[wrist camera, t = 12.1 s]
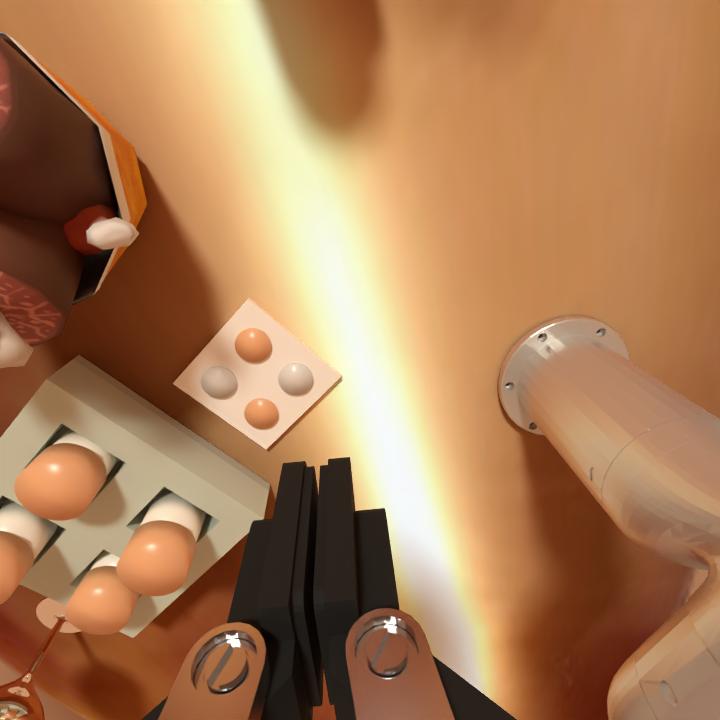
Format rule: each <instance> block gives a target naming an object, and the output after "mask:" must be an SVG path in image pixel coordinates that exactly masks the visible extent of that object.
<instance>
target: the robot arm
mask: <svg viewBox="0 0 720 720" xmlns="http://www.w3.org/2000/svg"><path fill="white" fill-rule="evenodd" d="M539 335H540V336H539ZM498 393H499V397H500V402H501V404H502V406H503V408H504V410H505V411H506V413H507V414H508V416H509V417H510V418H511V419H512V420H513V421H514V422H515V423H516V424H517V425H518V426H519V427H521V428H523V429H524V430H526V431H528V432H531V433H534V434H537V435H544V436H546V438H547V439H548V440H549V441H550V443H551V444H552V445H553V446H554V448H555V449H556V450H557V451H558V453H559V454H560V455H561V456H562V458H563V459H564V460H565V461H566V463H567V464H568V465H569V466H570V468H571V469H572V470H573V471H574V473H575V474H576V475H577V476H578V478H579V479H580V480H581V481H582V483H583V484H584V485H585V486H586V488H587V489H588V490H589V491H590V493H591V494H592V495H593V496H594V498H595V499H596V500H597V501H598V503H599V504H600V505H601V506H602V508H603V509H604V510H605V511H606V513H607V514H608V515H609V517H610V518H611V519H612V520H613V522H614V523H615V524H616V525H617V527H618V528H619V529H620V530H621V531H622V532H623V533H624V534H625V535H626V536H627V537H628V538H629V539H630V540H631V541H632V542H633V543H635V544H636V545H637V546H639V547H640V548H642V549H643V550H645V551H647V552H648V553H650V554H652V555H654V556H657V557H659V558H662V559H664V560H667V561H670V562H673V563H676V564H680V565H684V566H688V567H692V568H697V569H703V570H708V571H709V572H708V576H707V578H706V579H705V581H704V583H703V584H702V585H701V586H700V587H699V588H698V589H697V590H696V591H695V592H694V593H693V594H692V595H691V596H690V597H689V599H688V601H687V602H686V603H685V604H684V605H683V606H682V607H681V608H680V609H679V610H678V611H676V612H675V613H674V614H673V615H672V616H671V617H670V618H669V619H668V620H667V621H666V622H665V623H664V624H663V625H662V626H661V627H660V628H658V629H657V630H656V631H655V632H654V633H653V634H652V635H651V636H650V637H649V638H648V639H647V640H646V641H645V642H644V643H643V644H642V645H640V647H639V648H638V649H637V650H636V651H635V652H634V653H633V654H632V655H631V656H630V657H629V658H628V659H627V660H626V661H625V662H624V663H623V665H622V666H621V667H620V668H619V670H618V671H617V673H616V674H615V676H614V678H613V680H612V682H611V685H610V688H609V692H608V698H607V708H608V717H609V720H720V419H718V418H717V417H715V416H714V415H712V414H711V413H709V412H708V411H706V410H705V409H703V408H701V407H700V406H698V405H697V404H695V403H694V402H692V401H691V400H689V399H688V398H686V397H684V396H683V395H681V394H680V393H678V392H677V391H675V390H674V389H672V388H671V387H669V386H667V385H666V384H664V383H663V382H661V381H660V380H658V379H657V378H655V377H654V376H652V375H651V374H649V373H647V372H646V371H644V370H643V369H641V368H640V367H638V366H637V365H635V364H634V363H632V362H630V360H629V354H628V350H627V347H626V345H625V343H624V341H623V340H622V338H621V337H620V336H619V335H618V334H617V333H616V332H615V331H614V330H613V329H612V328H610V327H609V326H607V325H605V324H604V323H602V322H599V321H597V320H595V319H592V318H587V317H582V316H568V317H562V318H556V319H554V320H551V321H548V322H545V323H543V324H541V325H539V326H537V327H536V328H534V329H532V330H531V331H529V332H528V333H527V334H526V335H524V336H523V337H522V338H521V339H520V340H519V341H518V342H517V343H516V344H515V345H514V346H513V347H512V349H511V350H510V352H509V353H508V355H507V357H506V358H505V360H504V363H503V365H502V367H501V370H500V375H499V379H498ZM323 669H324V673H325V679H326V685H327V691H328V697H329V703H330V705H334V708H335V714H336V720H517V719H515V718H514V717H513V716H511V715H510V714H509V713H507V712H506V711H505V710H503V709H502V708H501V707H500V706H498V705H497V704H496V703H494V702H493V701H492V700H490V699H489V698H488V697H486V696H485V695H484V694H483V693H481V692H480V691H479V690H477V689H476V688H475V687H473V686H472V685H471V684H469V683H468V682H467V681H466V680H464V679H463V678H462V677H460V676H459V675H458V674H456V673H455V672H454V671H452V670H451V669H450V668H449V667H447V666H446V665H445V664H443V663H442V662H441V661H439V660H438V659H437V658H435V657H434V656H433V655H432V653H431V650H430V647H429V645H428V642H427V639H426V636H425V634H424V632H423V630H422V628H421V626H420V625H419V624H418V623H417V622H416V621H415V620H414V619H413V618H412V617H411V616H410V615H408V614H406V613H404V612H402V611H401V610H399V603H398V596H397V589H396V582H395V575H394V568H393V561H392V554H391V547H390V540H389V533H388V526H387V519H386V512H385V508H383V509H372V510H361V511H355V502H354V492H353V482H352V472H351V463H350V457H346V458H335V459H329V460H328V465H323V466H320V479H319V495H318V488H317V481H316V474H315V468H314V466H312V467H307V465H306V462H305V461H302V462H291V463H283V466H282V470H281V476H280V481H279V487H278V492H277V498H276V503H275V508H274V514H273V519H264V520H254V521H253V522H252V524H251V527H250V531H249V535H248V539H247V543H246V547H245V551H244V555H243V559H242V564H241V568H240V572H239V576H238V580H237V584H236V588H235V592H234V596H233V601H232V605H231V609H230V613H229V617H228V621H227V624H224V625H222V626H219V627H216V628H214V629H213V630H211V631H210V632H208V633H207V634H205V635H204V636H203V637H202V638H201V639H200V640H199V641H198V642H197V643H196V644H195V645H194V646H193V647H192V649H191V651H190V652H189V654H188V656H187V657H186V659H185V661H184V663H183V665H182V668H181V670H180V672H179V674H178V677H177V679H176V681H175V683H174V685H173V688H172V690H171V692H170V694H169V696H168V697H167V698H166V699H165V700H163V701H162V702H161V703H160V704H159V705H158V706H157V707H155V708H154V709H153V710H152V711H151V712H150V713H149V714H147V715H146V716H145V717H144V718H143V719H142V720H312V716H313V707H315V706H322V701H323Z"/></svg>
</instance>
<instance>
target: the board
mask: <svg viewBox="0 0 720 720" xmlns="http://www.w3.org/2000/svg"><path fill="white" fill-rule="evenodd" d="M69 428H70V429H71V430H73V431H75V432H76V433H78V434H79V435H81V436H83V437H84V438H86V439H88V440H89V441H91V442H92V443H94V444H96V445H97V446H99V447H101V448H102V449H104V450H105V451H107V452H109V453H110V454H112V455H114V456H115V457H117V458H119V460H118V462H117V463H116V464H115V466H114V467H113V468H112V470H111V471H110V473H109V474H108V475H107V477H106V481H105V483H104V485H103V486H102V488H101V489H100V491H99V492H98V493H97V495H96V496H95V498H94V499H93V500H92V502H91V503H90V505H89V506H88V507H87V509H86V510H85V511H84V512H83V513H82V514H81V515H80V516H78V517H76V518H73V519H70V520H64V521H56V520H50V521H51V522H53V523H55V524H57V529H56V531H55V533H54V534H53V536H52V537H51V538H50V540H49V541H48V542H47V544H46V545H45V546H44V548H43V549H42V550H41V552H40V553H39V554H38V555H37V557H36V558H35V559H34V563H33V566H32V567H31V569H30V570H29V571H28V573H27V574H26V575H25V577H24V578H23V579H22V581H21V582H20V583H19V584H21V585H23V586H25V587H27V588H29V589H31V590H33V591H35V592H37V593H40V594H42V595H44V596H46V597H48V598H50V599H52V600H54V601H56V602H59V603H61V604H63V605H65V606H66V605H67V603H68V602H69V600H70V599H71V597H72V595H73V594H74V592H75V590H76V589H77V587H78V585H79V584H80V582H81V580H82V579H83V577H84V575H85V574H86V573H87V572H88V571H90V569H91V568H92V566H93V564H94V563H95V561H96V559H97V558H98V556H99V554H100V553H101V551H102V550H103V549H104V550H106V551H107V552H109V553H111V554H113V555H115V556H117V557H119V558H120V557H121V555H122V553H123V552H124V550H125V548H126V546H127V544H128V542H129V540H130V538H131V537H132V535H133V533H134V531H135V530H136V529H137V528H138V527H139V526H140V525H141V523H142V521H143V519H144V517H145V515H146V513H147V511H148V510H149V508H150V506H151V504H152V502H153V501H154V499H155V498H156V497H157V496H159V495H161V494H163V493H166V492H170V491H172V492H174V493H175V494H177V495H179V496H180V497H182V498H184V499H185V500H187V501H188V502H190V503H192V504H193V505H195V506H197V507H198V508H200V509H201V510H203V511H205V513H206V514H205V520H204V522H203V525H202V528H201V531H200V534H199V536H198V539H197V542H196V551H195V554H194V557H193V560H192V563H191V566H190V569H189V571H188V574H187V577H186V580H185V582H184V584H183V585H182V586H181V588H179V589H178V590H177V591H175V592H173V593H171V594H168V595H164V596H147V595H142V594H140V596H139V598H138V601H137V603H136V605H135V607H134V610H133V612H132V614H131V616H130V619H129V621H128V623H127V625H126V626H125V627H124V628H123V629H121V630H120V632H122V633H124V634H126V635H128V636H130V637H132V638H134V637H135V636H136V635H137V634H138V633H139V632H140V631H141V630H142V629H144V628H145V627H146V626H147V625H148V624H149V623H150V622H151V621H152V620H153V619H154V618H156V617H157V616H158V615H159V614H160V613H161V612H162V611H163V610H164V609H165V608H166V607H168V606H169V605H170V604H171V603H172V602H173V601H174V600H175V599H176V598H177V597H179V596H180V595H181V594H182V593H183V592H184V591H185V590H186V589H187V588H188V587H189V586H191V585H192V584H193V583H194V582H195V581H196V580H197V579H198V578H199V577H200V576H201V575H203V574H204V573H205V572H206V571H207V570H208V569H209V568H210V567H211V566H212V565H213V564H215V563H216V562H217V561H218V560H219V559H220V558H221V557H222V556H223V555H224V554H226V553H227V552H228V551H229V550H230V549H231V548H232V547H233V546H234V545H235V544H236V543H238V542H239V541H240V540H241V539H242V538H243V537H244V536H245V535H246V534H247V533H248V532H249V531H250V527H251V524H252V522H253V521H254V520H263V519H264V514H265V509H266V504H267V499H268V493H269V488H270V484H269V483H268V482H266V481H265V480H263V479H262V478H260V477H259V476H257V475H256V474H254V473H253V472H251V471H250V470H249V469H247V468H246V467H244V466H243V465H241V464H240V463H238V462H237V461H235V460H234V459H232V458H231V457H229V456H228V455H226V454H225V453H223V452H222V451H221V450H219V449H218V448H216V447H215V446H213V445H212V444H210V443H209V442H207V441H206V440H204V439H203V438H201V437H200V436H198V435H197V434H195V433H194V432H192V431H191V430H190V429H188V428H187V427H185V426H184V425H182V424H181V423H179V422H178V421H176V420H175V419H173V418H172V417H170V416H169V415H167V414H166V413H164V412H163V411H162V410H160V409H159V408H157V407H156V406H154V405H153V404H151V403H150V402H148V401H147V400H145V399H144V398H142V397H141V396H139V395H138V394H136V393H135V392H133V391H132V390H131V389H129V388H128V387H126V386H125V385H123V384H122V383H120V382H119V381H117V380H116V379H114V378H113V377H111V376H110V375H108V374H107V373H105V372H104V371H102V370H101V369H100V368H98V367H97V366H95V365H94V364H92V363H91V362H89V361H88V360H86V359H85V358H83V357H82V356H80V355H78V356H77V357H75V358H74V359H73V360H71V361H70V362H69V363H67V364H66V365H65V366H63V367H62V368H61V369H59V370H58V371H57V372H55V373H54V374H53V375H51V376H50V377H49V378H47V379H46V380H45V382H44V383H43V384H42V385H41V387H40V388H39V389H38V390H37V392H36V393H35V394H34V396H33V397H32V398H31V399H30V401H29V402H28V403H27V405H26V406H25V407H24V408H23V410H22V411H21V412H20V414H19V415H18V416H17V417H16V419H15V420H14V421H13V423H12V424H11V425H10V426H9V428H8V429H7V430H6V432H5V433H4V434H3V435H2V437H1V438H0V508H1V507H2V506H3V505H4V504H6V503H7V502H9V501H14V502H16V503H18V504H20V505H21V506H23V505H22V504H21V503H20V502H19V500H18V498H17V496H16V494H15V490H14V484H15V480H16V478H17V477H18V475H19V474H20V473H21V472H22V471H23V470H24V469H25V468H26V467H27V466H28V465H29V464H30V463H31V462H32V461H33V460H34V459H35V458H36V457H37V456H38V455H39V454H40V453H41V452H42V451H43V450H44V449H46V448H47V447H49V446H51V445H53V444H54V443H55V442H56V441H57V440H58V439H59V438H60V437H61V436H62V435H63V434H64V433H65V432H66V431H67V430H68V429H69ZM23 507H24V506H23ZM48 520H49V519H48Z"/></svg>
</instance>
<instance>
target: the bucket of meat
mask: <svg viewBox="0 0 720 720" xmlns="http://www.w3.org/2000/svg"><path fill="white" fill-rule="evenodd" d="M146 206H147V200H146V196H145V191H144V187H143V183H142V179H141V174H140V170H139V166H138V161H137V157H136V153H135V149H134V147H133V146H132V145H131V144H130V143H129V142H128V141H127V140H126V139H125V138H124V137H123V136H122V135H121V134H120V133H119V132H118V131H117V130H116V129H115V128H114V127H113V126H112V125H111V124H110V123H109V122H108V121H107V120H106V119H105V118H104V117H103V116H102V115H101V114H100V113H99V112H98V111H97V110H96V109H95V108H94V107H93V106H92V105H91V104H90V103H89V102H88V101H87V100H86V99H85V98H84V97H82V96H81V95H80V94H79V93H77V92H76V91H75V90H74V89H72V88H71V87H70V86H69V85H67V84H66V83H65V82H64V81H62V80H61V79H60V78H59V77H57V76H56V75H55V74H54V73H52V72H51V71H50V70H49V69H47V68H46V67H45V66H44V65H43V64H41V63H40V62H39V61H38V60H36V59H35V58H34V57H33V56H31V55H30V54H29V53H28V52H27V51H26V50H25V49H24V48H23V47H22V46H21V45H20V44H19V43H18V42H17V41H15V40H14V39H12V38H11V37H10V36H8V35H7V34H5V33H1V32H0V368H4V367H13V366H24V365H25V364H26V362H27V360H28V359H29V357H30V355H31V353H32V352H33V350H34V349H33V348H32V347H31V346H37V345H39V344H41V343H43V342H45V341H48V340H50V339H52V338H54V337H56V336H58V335H61V333H62V331H63V328H64V325H65V323H66V320H67V317H68V314H69V311H70V309H71V306H72V305H74V304H76V303H78V302H80V301H82V300H84V299H87V298H89V297H91V296H93V295H94V294H95V293H96V292H97V291H98V290H99V289H100V286H101V284H102V282H103V280H104V279H105V277H106V276H107V274H108V273H109V272H110V270H111V269H112V268H113V266H114V265H115V263H116V262H117V261H118V259H119V258H120V257H121V255H122V254H123V252H124V251H125V250H126V248H127V247H128V246H130V244H131V243H132V242H133V241H134V240H135V239H136V237H137V236H138V235H139V233H138V231H137V230H136V228H137V226H138V224H139V221H140V219H141V217H142V215H143V212H144V210H145V208H146Z"/></svg>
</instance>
